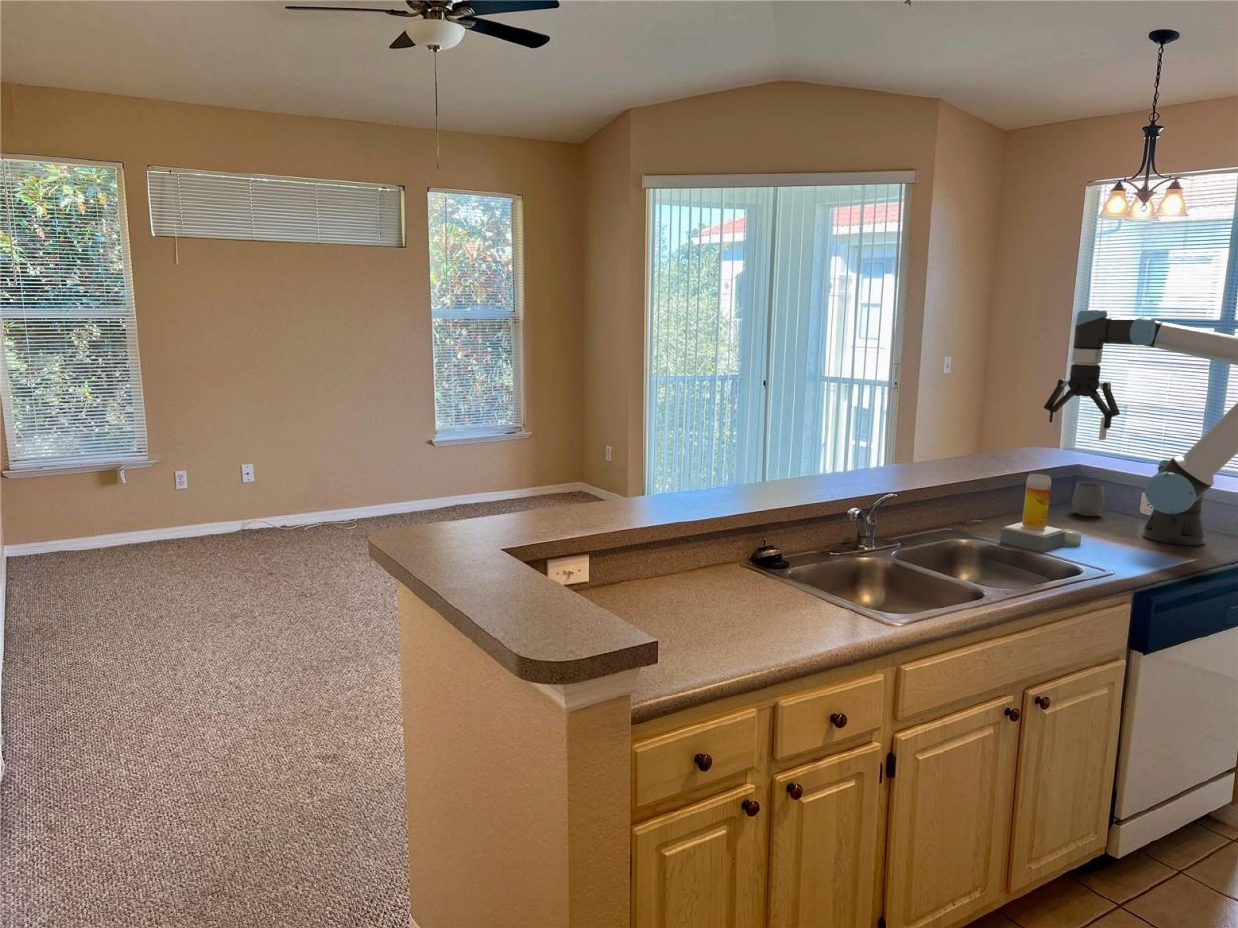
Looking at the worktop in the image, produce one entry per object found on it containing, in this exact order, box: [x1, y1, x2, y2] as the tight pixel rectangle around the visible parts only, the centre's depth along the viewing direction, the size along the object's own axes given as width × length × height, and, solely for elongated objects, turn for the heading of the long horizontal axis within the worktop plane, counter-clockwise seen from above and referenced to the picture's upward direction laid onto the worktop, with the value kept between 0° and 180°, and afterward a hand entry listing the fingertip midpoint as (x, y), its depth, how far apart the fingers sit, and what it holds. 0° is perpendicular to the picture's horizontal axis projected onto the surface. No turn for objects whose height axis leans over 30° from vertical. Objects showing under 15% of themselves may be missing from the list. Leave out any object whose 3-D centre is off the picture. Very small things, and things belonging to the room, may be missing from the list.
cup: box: [1071, 481, 1105, 517], centre depth 274 cm, size 10×9×10 cm
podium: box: [999, 522, 1065, 553], centre depth 237 cm, size 12×12×5 cm
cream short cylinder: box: [1062, 528, 1083, 547], centre depth 238 cm, size 6×6×4 cm
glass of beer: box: [1022, 473, 1052, 530], centre depth 235 cm, size 6×6×15 cm
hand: (1077, 436), depth 247 cm, fingers open, 13 cm apart
